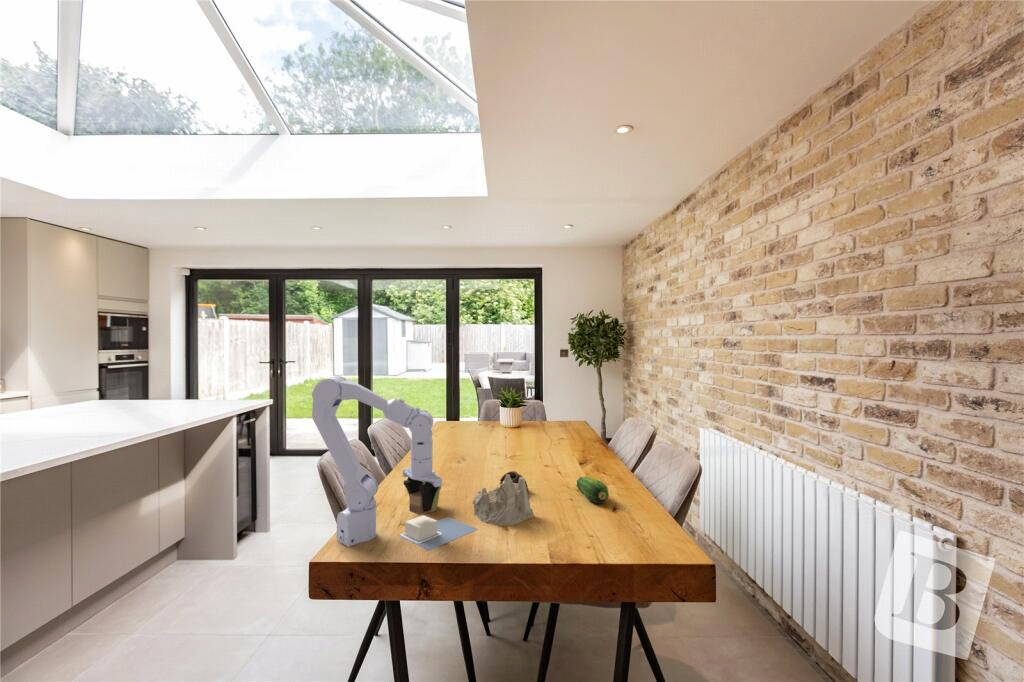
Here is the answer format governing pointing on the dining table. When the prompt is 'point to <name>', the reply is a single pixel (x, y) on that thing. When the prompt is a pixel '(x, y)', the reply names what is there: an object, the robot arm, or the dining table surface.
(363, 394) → the robot arm
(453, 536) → the board
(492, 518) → the jagged grey rock
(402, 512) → the dining table surface
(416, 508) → the walnut block
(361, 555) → the dining table surface
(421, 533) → the cream base block
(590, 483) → the vegetable
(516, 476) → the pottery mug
